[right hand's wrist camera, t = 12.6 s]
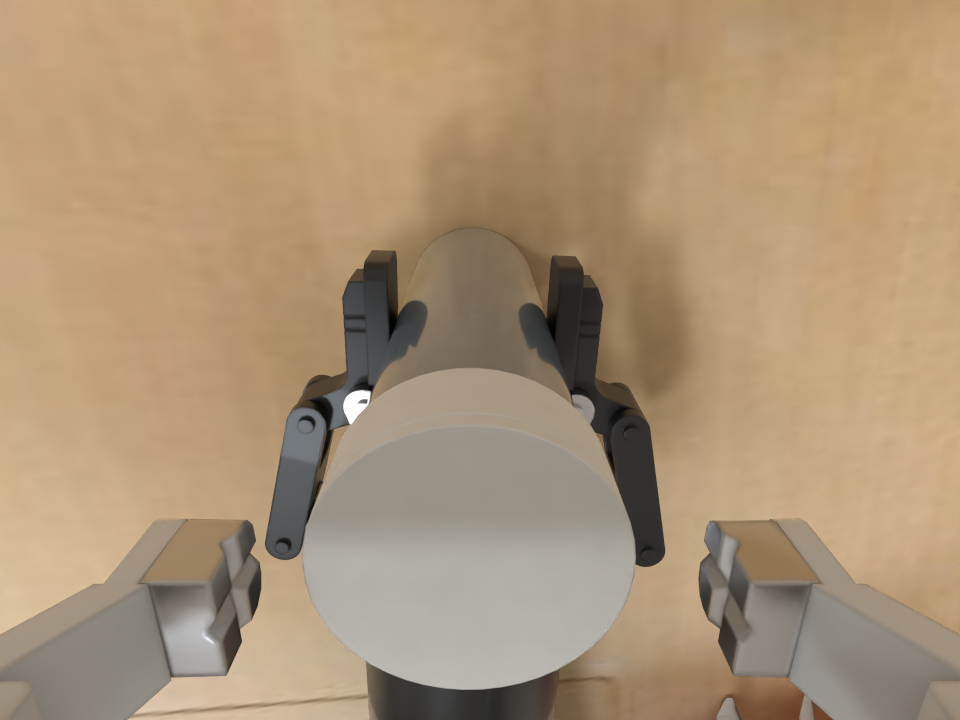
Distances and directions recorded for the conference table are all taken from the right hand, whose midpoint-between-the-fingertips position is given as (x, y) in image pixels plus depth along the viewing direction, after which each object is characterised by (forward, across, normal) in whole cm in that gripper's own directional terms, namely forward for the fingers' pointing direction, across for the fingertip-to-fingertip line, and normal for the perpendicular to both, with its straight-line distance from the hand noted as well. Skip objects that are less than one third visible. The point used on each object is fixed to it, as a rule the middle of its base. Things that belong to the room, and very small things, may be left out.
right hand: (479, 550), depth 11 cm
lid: (0, 0, 0) cm, 0 cm away
